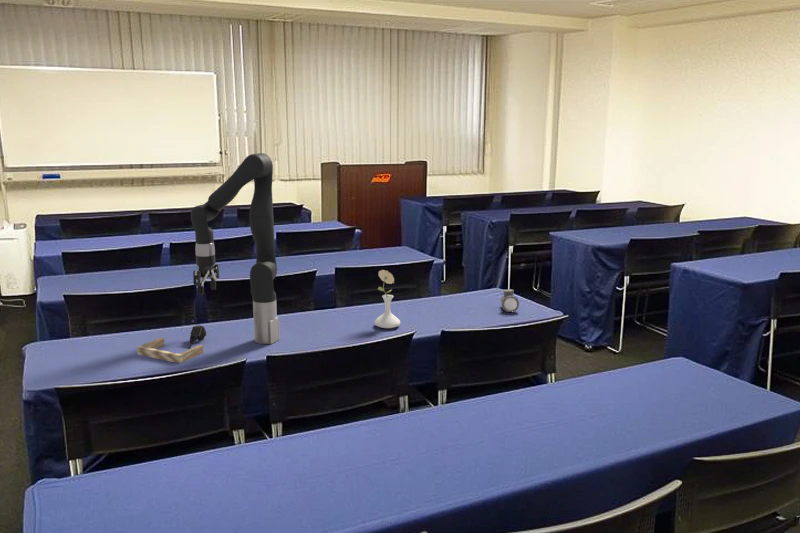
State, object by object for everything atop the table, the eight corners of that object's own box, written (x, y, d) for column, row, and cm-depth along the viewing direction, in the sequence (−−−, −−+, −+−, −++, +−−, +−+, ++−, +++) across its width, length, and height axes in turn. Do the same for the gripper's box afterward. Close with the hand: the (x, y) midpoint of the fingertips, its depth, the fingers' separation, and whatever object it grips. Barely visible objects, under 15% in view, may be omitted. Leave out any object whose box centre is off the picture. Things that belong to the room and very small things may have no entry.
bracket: (203, 352, 248) (202, 345, 247) (180, 363, 237) (179, 355, 236) (161, 344, 256) (161, 337, 256) (137, 354, 245) (136, 347, 244)
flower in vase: (405, 327, 281) (406, 272, 275) (383, 332, 274) (384, 275, 269) (389, 319, 291) (389, 266, 286) (367, 324, 285) (367, 269, 279)
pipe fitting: (519, 312, 303) (518, 291, 302) (502, 313, 304) (501, 292, 302) (515, 308, 315) (514, 287, 314) (499, 309, 316) (498, 288, 314)
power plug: (181, 346, 252) (191, 321, 260) (187, 357, 258) (196, 332, 266) (195, 347, 251) (204, 322, 259) (201, 358, 257) (210, 333, 265)
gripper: (202, 257, 253) (204, 297, 257) (223, 251, 266) (225, 288, 270) (186, 256, 255) (188, 295, 259) (207, 249, 268) (209, 286, 272)
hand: (207, 292), depth 264 cm, fingers open, 8 cm apart
